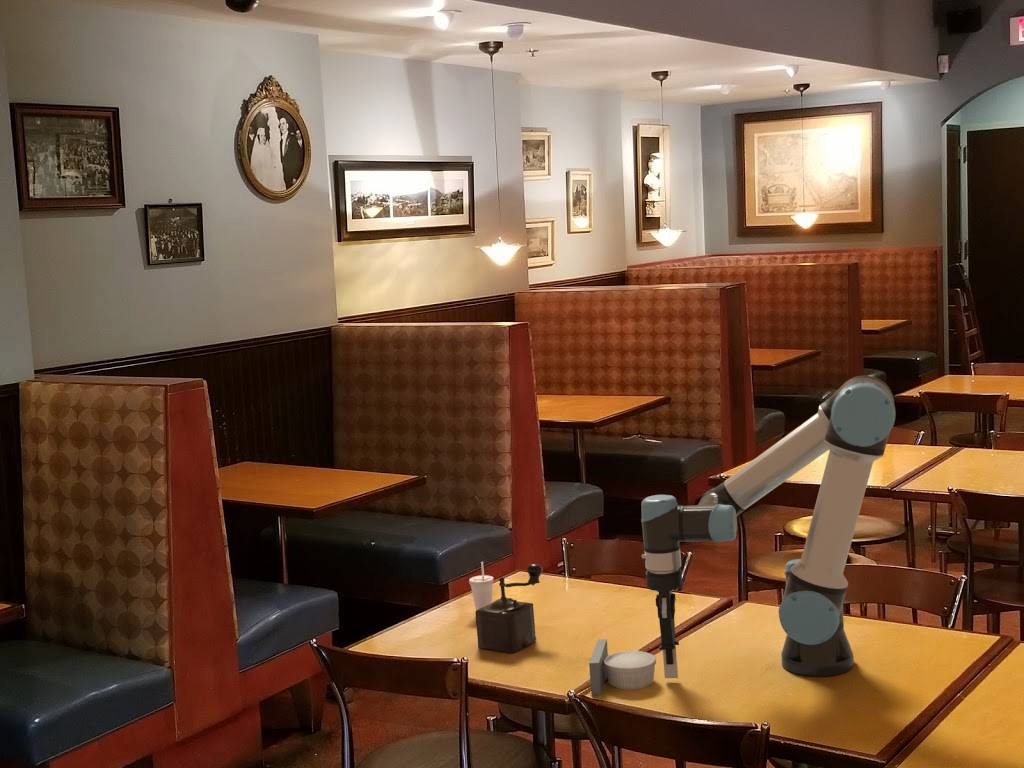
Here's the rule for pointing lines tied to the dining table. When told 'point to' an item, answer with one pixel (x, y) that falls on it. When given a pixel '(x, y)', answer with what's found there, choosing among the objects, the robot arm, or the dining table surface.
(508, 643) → the coffee grinder
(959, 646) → the dining table surface
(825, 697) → the dining table surface
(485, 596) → the smoothie
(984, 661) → the dining table surface
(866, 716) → the dining table surface
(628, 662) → the ramekin
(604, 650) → the board
